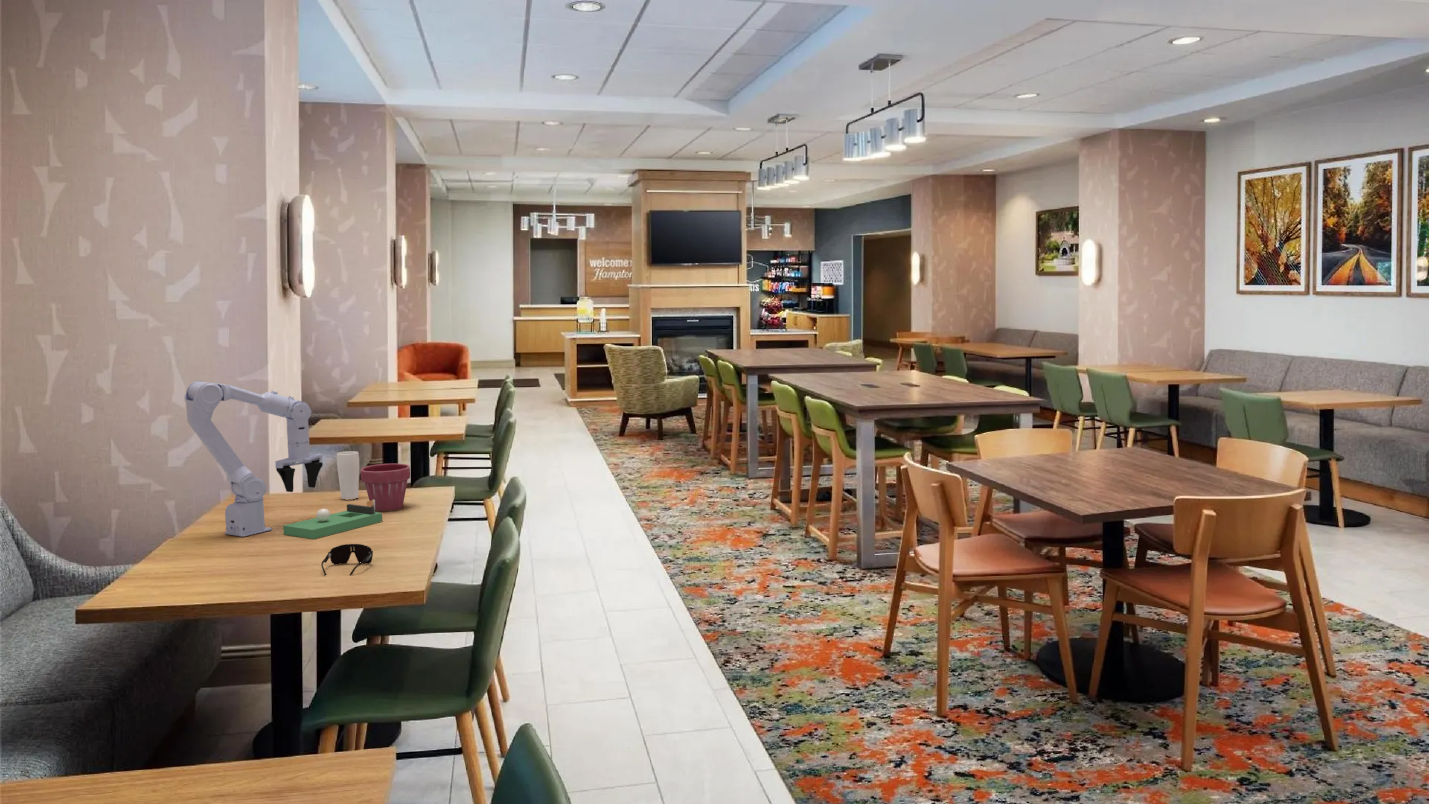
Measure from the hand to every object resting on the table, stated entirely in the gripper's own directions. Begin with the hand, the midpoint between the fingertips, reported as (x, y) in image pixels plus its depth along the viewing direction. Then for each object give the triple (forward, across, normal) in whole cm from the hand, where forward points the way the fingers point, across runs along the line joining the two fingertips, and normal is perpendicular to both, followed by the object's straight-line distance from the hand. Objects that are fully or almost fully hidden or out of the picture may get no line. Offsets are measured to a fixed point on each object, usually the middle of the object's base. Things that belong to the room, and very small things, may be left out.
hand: (300, 489), depth 295 cm
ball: (+6, -3, -13) cm, 14 cm away
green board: (+10, 0, -13) cm, 16 cm away
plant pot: (+10, +26, -6) cm, 29 cm away
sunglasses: (+10, -29, -51) cm, 60 cm away
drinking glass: (+10, +31, +16) cm, 37 cm away
